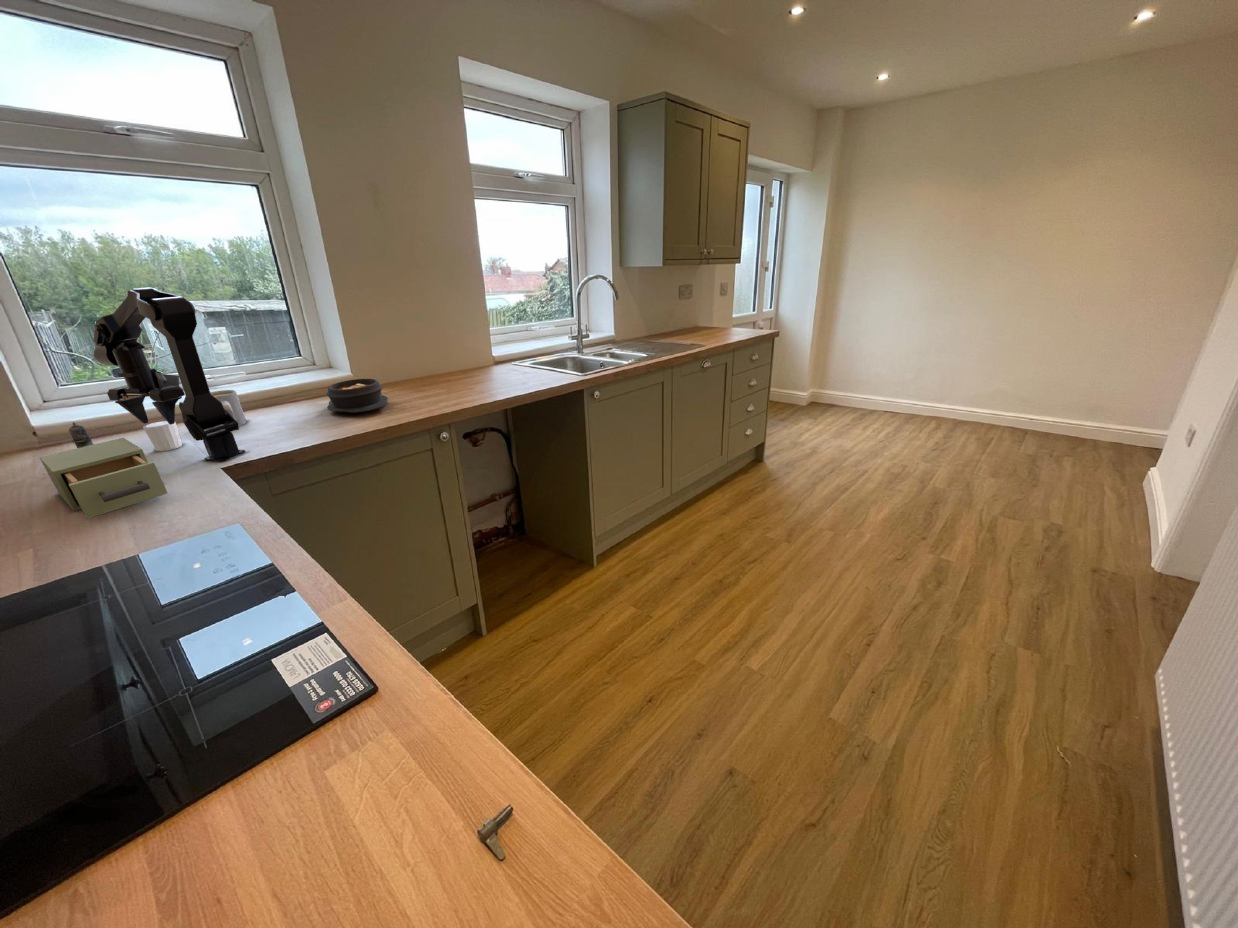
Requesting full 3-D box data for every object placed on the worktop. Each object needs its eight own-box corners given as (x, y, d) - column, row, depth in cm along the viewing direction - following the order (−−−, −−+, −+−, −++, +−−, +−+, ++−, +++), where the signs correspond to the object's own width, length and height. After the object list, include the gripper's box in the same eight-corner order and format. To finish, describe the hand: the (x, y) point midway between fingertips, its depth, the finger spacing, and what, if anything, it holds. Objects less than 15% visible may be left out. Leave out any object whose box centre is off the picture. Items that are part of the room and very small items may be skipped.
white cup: (149, 453, 136) (138, 429, 133) (157, 446, 141) (147, 422, 138) (181, 448, 138) (171, 424, 136) (187, 441, 144) (177, 418, 141)
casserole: (403, 407, 166) (398, 383, 163) (345, 422, 154) (338, 396, 151) (371, 396, 182) (366, 373, 179) (316, 408, 170) (309, 384, 166)
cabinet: (158, 485, 115) (142, 449, 112) (74, 511, 105) (52, 471, 101) (139, 471, 124) (123, 437, 120) (59, 494, 113) (39, 457, 110)
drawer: (175, 498, 106) (161, 467, 103) (92, 524, 97) (74, 491, 94) (148, 479, 117) (134, 450, 114) (71, 501, 107) (54, 470, 104)
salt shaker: (91, 471, 125) (68, 426, 121) (73, 470, 126) (49, 425, 122) (117, 462, 131) (96, 418, 126) (99, 461, 132) (78, 418, 127)
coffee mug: (207, 425, 158) (195, 394, 154) (245, 418, 163) (234, 388, 160) (209, 435, 148) (196, 402, 144) (249, 427, 154) (237, 395, 150)
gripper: (192, 360, 136) (214, 415, 142) (140, 360, 140) (162, 413, 146) (149, 369, 126) (174, 428, 132) (94, 369, 130) (120, 426, 136)
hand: (159, 423), depth 137 cm, fingers open, 9 cm apart
